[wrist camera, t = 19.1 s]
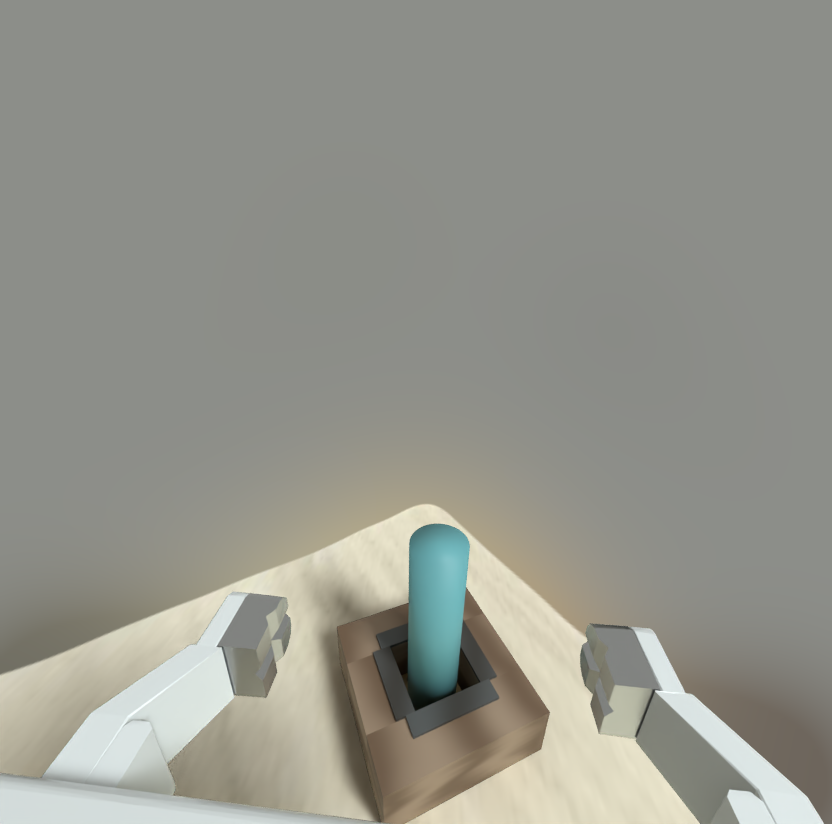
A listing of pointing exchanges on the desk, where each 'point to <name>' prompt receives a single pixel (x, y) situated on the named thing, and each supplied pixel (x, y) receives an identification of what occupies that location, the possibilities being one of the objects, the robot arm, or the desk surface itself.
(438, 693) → the peg
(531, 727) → the socket block
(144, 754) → the robot arm
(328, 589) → the desk surface
